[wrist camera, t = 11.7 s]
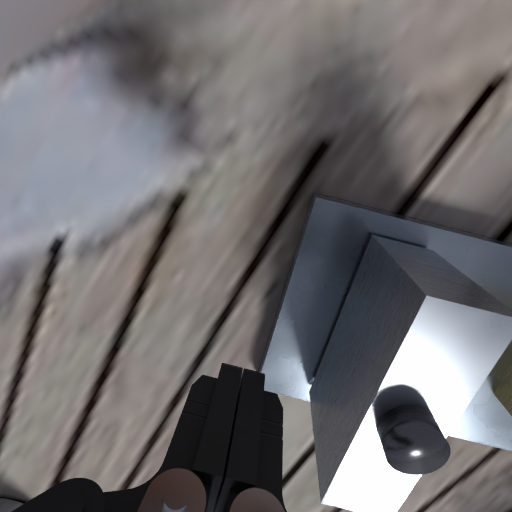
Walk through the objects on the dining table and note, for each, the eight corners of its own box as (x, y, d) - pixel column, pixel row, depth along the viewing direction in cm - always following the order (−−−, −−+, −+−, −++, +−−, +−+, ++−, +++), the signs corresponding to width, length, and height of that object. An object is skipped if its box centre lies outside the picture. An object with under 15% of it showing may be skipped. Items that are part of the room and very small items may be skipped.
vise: (257, 374, 20) (245, 493, 13) (313, 192, 16) (337, 235, 9) (583, 454, 20) (730, 610, 14) (728, 298, 16) (1047, 416, 9)
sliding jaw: (309, 391, 18) (323, 532, 12) (371, 234, 15) (442, 313, 8) (358, 403, 18) (399, 549, 12) (432, 250, 15) (552, 341, 8)
